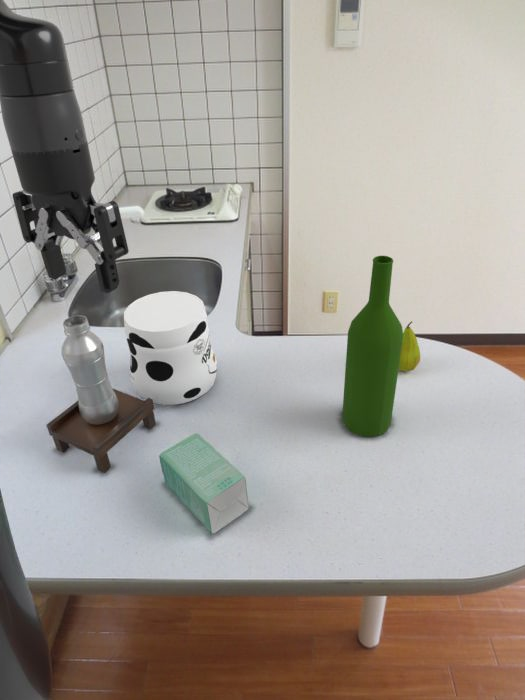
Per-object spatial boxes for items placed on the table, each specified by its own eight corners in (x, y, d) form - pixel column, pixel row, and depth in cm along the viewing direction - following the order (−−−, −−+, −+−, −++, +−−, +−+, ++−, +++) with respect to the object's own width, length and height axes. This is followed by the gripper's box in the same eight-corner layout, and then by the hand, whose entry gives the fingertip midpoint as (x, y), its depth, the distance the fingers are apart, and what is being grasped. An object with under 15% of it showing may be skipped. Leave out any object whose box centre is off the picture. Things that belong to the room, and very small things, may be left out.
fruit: (402, 355, 114) (409, 307, 107) (425, 369, 109) (433, 320, 103) (381, 366, 111) (387, 318, 104) (404, 381, 107) (411, 331, 100)
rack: (104, 474, 89) (96, 448, 85) (55, 450, 94) (45, 424, 90) (157, 424, 98) (152, 399, 95) (110, 405, 104) (103, 380, 100)
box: (200, 461, 90) (195, 429, 86) (250, 509, 82) (247, 476, 77) (163, 483, 87) (156, 451, 82) (212, 536, 78) (207, 503, 74)
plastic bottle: (126, 420, 92) (102, 323, 81) (87, 435, 89) (57, 337, 78) (115, 400, 97) (91, 306, 85) (78, 413, 94) (48, 318, 83)
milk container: (236, 383, 108) (229, 307, 98) (169, 426, 98) (154, 347, 88) (182, 351, 118) (172, 280, 108) (117, 388, 108) (98, 312, 98)
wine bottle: (399, 417, 98) (424, 256, 79) (375, 445, 92) (395, 278, 74) (357, 399, 102) (372, 242, 84) (332, 424, 97) (341, 262, 78)
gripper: (-28, 142, 54) (17, 284, 63) (71, 154, 48) (105, 309, 57) (30, 129, 60) (65, 261, 68) (126, 138, 54) (150, 282, 62)
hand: (83, 283), depth 63 cm, fingers open, 8 cm apart
